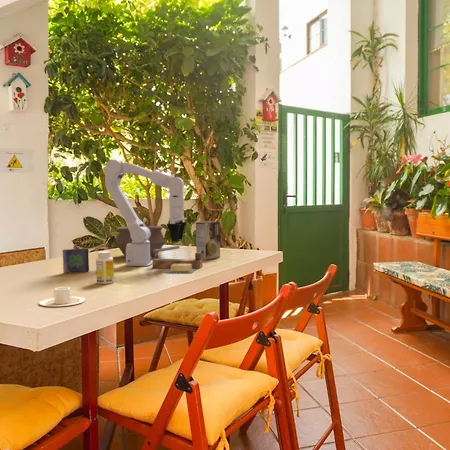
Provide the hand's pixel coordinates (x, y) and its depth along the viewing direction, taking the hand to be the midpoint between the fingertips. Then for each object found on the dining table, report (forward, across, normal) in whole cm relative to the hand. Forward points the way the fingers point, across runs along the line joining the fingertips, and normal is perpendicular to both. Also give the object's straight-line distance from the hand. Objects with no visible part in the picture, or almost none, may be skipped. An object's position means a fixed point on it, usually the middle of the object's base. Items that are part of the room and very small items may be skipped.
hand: (177, 240), depth 201 cm
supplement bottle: (+10, -41, +14) cm, 45 cm away
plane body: (+10, -7, -2) cm, 12 cm away
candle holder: (+10, -70, +14) cm, 72 cm away
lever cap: (+10, -17, -6) cm, 20 cm away
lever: (+6, -1, +4) cm, 8 cm away
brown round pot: (+10, +24, +23) cm, 35 cm away
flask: (+10, -22, +34) cm, 41 cm away
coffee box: (+10, +21, -9) cm, 25 cm away
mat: (+10, -17, -6) cm, 20 cm away
